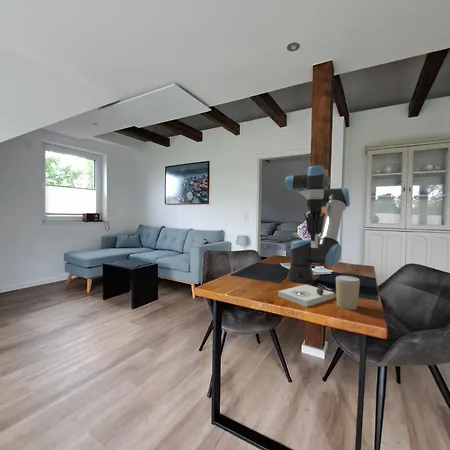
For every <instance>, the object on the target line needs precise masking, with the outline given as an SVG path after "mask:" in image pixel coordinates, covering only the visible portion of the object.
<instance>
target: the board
mask: <svg viewBox="0 0 450 450" xmlns="http://www.w3.org/2000/svg"><path fill="white" fill-rule="evenodd" d="M318 288H319V287H316V286H312V285H309V284H303V285H298V286H294V287H289V288H285V289H281V290H278V291H277V293H278V294H277V295H278V297H279V298H281V299H284V300H286V301H289V302H293V303H294V304H298V305H300V306H303V307H306V308H308V307H311V306H314V305H317V304H320V303H323V302H326V301H329V300H333V299H335V292H333V291H330V290H328V289H327V290H326V289H323V291H324V293H323V294H322V295H319V294H318V293H317V289H318ZM299 292H302V293H303V294H304V295H298V293H299Z"/></svg>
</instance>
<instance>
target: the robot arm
mask: <svg viewBox="0 0 450 450" xmlns="http://www.w3.org/2000/svg"><path fill="white" fill-rule="evenodd" d="M330 184H331V178H330V176H329V175H328V174H326V173H325V166H323V165H313V166H309V167H308V168H307V173H306V174H292V175H288V176H286V178H285V183H284V185H285V188H286V189H287V190H290V191H291V190H294V191H296V192H297V193H299V194H300V195H302V196H303V197H304V198H305V199H306V207H307V208H308V209H307V212H305V213H304V217H305V223H306V229H307V231H306V232H307V233H308V234H309V235H310V239H301V240H294V241H291V244H290V266H289V269H288V273H287V274H286V275H287V281H290V282H293V283H300V284H301V283H303V284H306V283H313V282H315V275H314V272H313V269H312V264H317V265H324V266H336V265H338V263H340V259H341V256H342V246H341V244H340V242H339V241H338V236H339V231H340V226H341V220H342V215H343V212H345V210H346V208H348V207H350V205H351V204H350V203H351V201H350V200H351V199H350V193H349V188H347V187H340V188H328V187H329V186H330ZM324 207H325V208H326V209H327V210H326V213H324V212H323V209H322V208H324ZM324 218H325V219H324ZM319 235H320V236H321V237H319Z"/></svg>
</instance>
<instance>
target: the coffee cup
mask: <svg viewBox="0 0 450 450" xmlns="http://www.w3.org/2000/svg"><path fill="white" fill-rule="evenodd" d="M360 284H361V280H360V278H358V277H355V276H351V275H337V276H336V277H335V293H336V294H335V295H336V306H337V307H339V308H341V309H343V310H351V311H352V310H357V308H358V305H359V293H360Z"/></svg>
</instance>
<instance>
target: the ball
mask: <svg viewBox="0 0 450 450" xmlns="http://www.w3.org/2000/svg"><path fill="white" fill-rule="evenodd" d="M317 288H318V289H317V293H318V294H319V295H322V294H323V293H324V291H323V290H324V288H321V287H317Z"/></svg>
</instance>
